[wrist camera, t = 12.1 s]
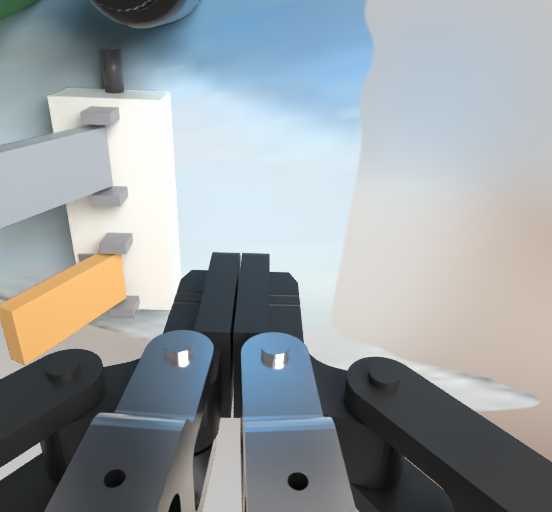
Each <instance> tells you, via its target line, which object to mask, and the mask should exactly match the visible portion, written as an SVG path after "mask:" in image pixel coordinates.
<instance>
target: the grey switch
mask: <svg viewBox="0 0 552 512" xmlns="http://www.w3.org/2000/svg"><path fill="white" fill-rule="evenodd" d="M112 186H113V181H112V173H111V165H110V157H109V149H108V140H107V132H106V127H105V125H92V124H90V125H86V126H82V127H77V128H73V129H69V130H64V131H60V132H56V133H51V134H47V135H43V136H38V137H34V138H30V139H25V140H21V141H17V142H12V143H8V144H4V145H0V229H1V228H3V227H6V226H9V225H11V224H14V223H16V222H19V221H22V220H24V219H27V218H30V217H32V216H35V215H37V214H40V213H43V212H45V211H48V210H51V209H53V208H56V207H58V206H61V205H64V204H66V203H69V202H72V201H74V200H77V199H79V198H82V197H85V196H87V195H90V194H93V193H95V192H98V191H100V190H103V189H109V188H112Z"/></svg>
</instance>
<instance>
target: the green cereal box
mask: <svg viewBox="0 0 552 512" xmlns="http://www.w3.org/2000/svg"><path fill="white" fill-rule="evenodd" d="M36 1H38V0H0V20H2V19H4V18H6V17H8V16H10V15H12V14H14V13H15V12H17V11H19V10H21V9H23V8H25V7H27V6H29V5H31V4H32V3H34V2H36Z"/></svg>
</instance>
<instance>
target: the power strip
mask: <svg viewBox="0 0 552 512" xmlns="http://www.w3.org/2000/svg"><path fill="white" fill-rule="evenodd" d="M100 52H101V61H102V69H103V78H104V86H105V89H93V88H66V89H63V90H61V91H58V92H56V93H53V94H51V95H48V96H47V98H48V104H49V110H50V116H51V122H52V127H53V133H56V132H60V131H64V130H69V129H73V128H77V127H82V126H86V125H90V124H92V125H105V127H106V132H107V140H108V149H109V157H110V165H111V173H112V181H113V186H112V188H109V189H103V190H100V191H98V192H95V193H93V194H90V195H87V196H85V197H82V198H79V199H77V200H74V201H72V202H69V203H66V209H67V215H68V221H69V226H70V232H71V238H72V244H73V250H74V256H75V261H76V264H77V263H79V262H81V261H83V260H85V259H87V258H89V257H91V256H93V255H95V254H97V253H98V252H100V254H121V255H122V264H123V272H124V280H125V288H126V297H127V298H126V299H124V300H123V301H121V302H120V303H118V304H117V305H115V306H114V307H112V308H111V309H109V316H110V317H121V318H134V316H135V314H136V311H137V309H152V310H171V308H172V305H173V303H174V298H175V295H176V294H177V289H178V286H179V283H180V280H181V266H180V249H179V232H178V215H177V199H176V182H175V165H174V148H173V132H172V115H171V98H170V91H147V90H124V84H123V74H122V64H121V54H120V49H100Z"/></svg>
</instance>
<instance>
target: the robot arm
mask: <svg viewBox="0 0 552 512" xmlns="http://www.w3.org/2000/svg"><path fill="white" fill-rule="evenodd" d="M233 388H234V418H241V433H240V434H241V435H240V437H241V438H240V445H241V446H240V448H241V449H240V453H241V489H242V490H241V492H242V512H356V509H357V510H359V512H552V462H550V461H549V460H548V459H546V458H544V457H543V456H542V455H540V454H538V453H537V452H536V451H534V450H532V449H531V448H529V447H528V446H526V445H525V444H523V443H522V442H520V441H519V440H517V439H516V438H514V437H513V436H511V435H510V434H508V433H507V432H505V431H504V430H502V429H501V428H499V427H498V426H496V425H495V424H493V423H492V422H490V421H489V420H487V419H486V418H484V417H483V416H481V415H479V414H478V413H477V412H475V411H473V410H472V409H470V408H469V407H467V406H466V405H464V404H463V403H461V402H460V401H458V400H457V399H455V398H454V397H452V396H451V395H449V394H448V393H446V392H445V391H443V390H442V389H440V388H439V387H437V386H436V385H434V384H433V383H431V382H430V381H428V380H427V379H425V378H424V377H422V376H421V375H419V374H418V373H416V372H414V371H413V370H411V369H410V368H408V367H407V366H405V365H404V364H402V363H400V362H398V361H395V360H392V359H389V358H384V357H367V358H363V359H360V360H358V361H356V362H354V363H353V364H352V365H351V366H350V368H349V369H348V371H346V370H342V369H338V368H334V367H331V366H328V365H325V364H323V363H321V362H319V361H318V360H316V359H315V358H313V357H312V356H311V355H310V354H309V351H308V349H307V347H306V345H305V344H304V340H303V330H302V320H301V310H300V300H299V290H298V283H297V281H296V280H295V279H294V278H293V277H292V276H291V274H290V273H287V272H269V254H258V253H242V260H241V269H240V253H220V252H213V253H212V257H211V261H210V265H209V270H191V271H190V272H189V273H188V274H187V275H186V276H184V277H183V278H182V279H181V280H180V283H179V286H178V289H177V294H176V295H175V298H174V303H173V305H172V308H171V311H170V314H169V317H168V320H167V323H166V326H165V329H164V332H163V334H162V335H159V336H157V337H156V338H154V339H153V340H152V341H150V343H149V344H148V345H147V347H146V348H145V350H144V352H143V355H142V356H141V358H139V359H137V360H134V361H131V362H127V363H122V364H117V365H112V366H107V367H103V364H102V361H101V359H100V357H99V356H98V355H97V354H95V353H93V352H91V351H88V350H83V349H68V350H62V351H58V352H55V353H52V354H49V355H47V356H45V357H43V358H41V359H39V360H37V361H35V362H33V363H31V364H29V365H27V366H26V367H23V368H22V369H20V370H18V371H16V372H14V373H12V374H10V375H8V376H6V377H4V378H2V379H0V467H2V466H4V465H5V464H7V463H8V462H10V461H11V460H13V459H14V458H16V457H18V456H19V455H20V454H22V453H24V452H25V451H27V450H28V449H30V448H31V447H33V446H35V445H36V444H38V443H39V442H40V445H41V449H42V453H41V454H40V455H38V456H37V457H35V458H34V459H32V460H31V461H29V462H28V463H26V464H25V465H23V466H22V467H20V468H19V469H17V470H16V471H14V472H13V473H11V474H10V475H8V476H7V477H5V478H4V479H2V480H1V481H0V512H202V511H203V506H204V502H205V497H206V493H207V487H208V483H209V478H210V474H211V469H212V465H213V460H214V455H215V451H216V436H217V434H218V430H219V423H220V418H222V417H223V418H230V417H231V409H232V399H233V398H232V397H233ZM405 457H406V458H407V459H408V460H409V461H410V462H412V463H413V464H414V465H416V466H417V467H418V468H419V469H420V470H421V471H423V472H424V473H425V474H426V475H428V476H429V477H430V478H431V479H433V480H434V481H435V482H436V483H437V484H439V485H440V486H441V487H442V488H443V489H444V490H443V489H441V488H440V487H439V486H438V485H437V484H435V483H434V482H433V481H432V480H430V479H429V478H428V477H427V476H426V475H424V474H423V473H422V472H421V471H419V470H418V469H417V468H416V467H415V466H413V465H412V464H411V463H410V462H408V461H407V460H406V459H405Z"/></svg>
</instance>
